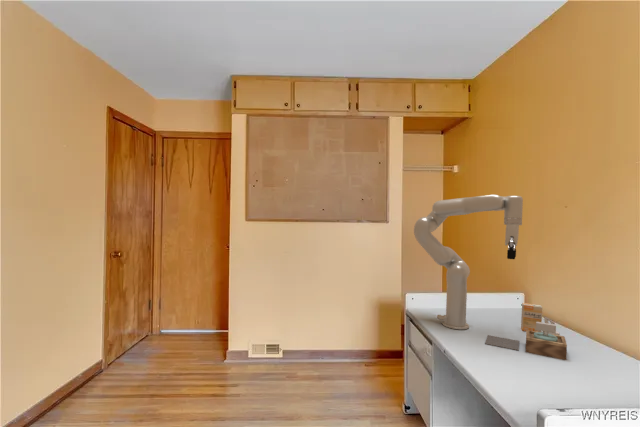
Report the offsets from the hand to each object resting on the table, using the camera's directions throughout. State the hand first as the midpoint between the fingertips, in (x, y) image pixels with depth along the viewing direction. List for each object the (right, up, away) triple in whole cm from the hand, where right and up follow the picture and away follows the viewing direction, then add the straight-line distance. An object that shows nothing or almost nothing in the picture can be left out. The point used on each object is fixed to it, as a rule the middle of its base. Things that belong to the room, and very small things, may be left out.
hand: (511, 258), depth 168 cm
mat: (-10, -37, -10) cm, 39 cm away
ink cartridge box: (+16, -38, -4) cm, 41 cm away
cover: (+4, -32, -18) cm, 37 cm away
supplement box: (+14, -38, +8) cm, 41 cm away
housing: (+4, -37, -18) cm, 41 cm away
